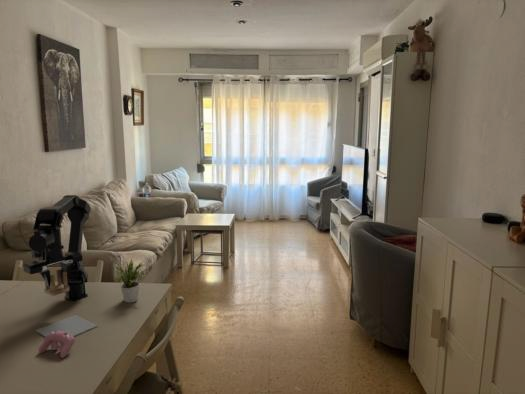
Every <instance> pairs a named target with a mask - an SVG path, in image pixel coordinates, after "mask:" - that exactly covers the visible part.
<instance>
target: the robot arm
mask: <svg viewBox="0 0 525 394" xmlns="http://www.w3.org/2000/svg"><path fill="white" fill-rule="evenodd" d="M91 210H92V209H91V206H90V204H89V203H88V202H87V200H84V199H82V198H80V197H79V195H76V194H68V195H67V194H66V195H64V196H63V197H62V198H61V199H60V200H58V201H57V202H56V203H54V204H53V205H51V206H45V207H42V208H39V210H38V211H37V213H36V216H35V221H34V223H33V224H34V225H33V228H32V230H33V235H32V236H30V237H29V241H28V246H29V248H30V249H31V258H32V259H33V260H34V259H37V260H38V261H41V262H38V261H36V260H34V261H30V262H25V263H24V265H23V266H22V268H23V272H24V273H27V274H29V275H34V274H40V275H41V277H42V279H43V280H44V283H45V282H46V284H47V286H48V287H51V281H50V276H51V270H49V269H48V267H51V266H55V265H57V264H59V266H60V271H61V282H62V285H64V284H63V273H62V272H67V283H68V287H69V291H67V292H64V293H65V295H64V298H66V299H67V300H70V301H72V302H75V301H77V300H79V299H82V298H83V299H84V298H86V297H88V295H89V294H88V293H86V292H87V291H86V283H88V280H89V275H88V272H87V271H86V270H85V266H84V264H83V261H84V256H83V254H82V245H83V234H84V225H85V223H86V222H87V221H88V219H89V216H90V213H91ZM66 213H67V218H68V219H69V221H70V229H69V230H70V231H69V236H68V237H69V239H68V248H67V249H68V250H67V252H66V253H65V254H63V253H64V252H63V249H64V248H65V247H64V244H63V243H62V242H63V241H62V234H61V228H62V227H63V225H62V223H63V220H64V215H65V214H66Z"/></svg>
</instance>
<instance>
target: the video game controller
mask: <svg viewBox="0 0 525 394" xmlns="http://www.w3.org/2000/svg"><path fill="white" fill-rule="evenodd" d="M75 340H76V339H75V337H74V336H72V335H70V334H69V333H67V332H64V331H53V332H50V333H49V334H48V335H47V336H46V337H45V338H44V339H43V341H42V342H41V344H40V346H39V347H38V353H39V354H43V353H44V352H45V351H46V350H47V349H48V348H51V350H52V351H56V350H59V352H60V358H62V359H64V358H65V357H67V356H68V354H69V353H70V352H71V350H72V347H73V345H74V344H75ZM59 342H61V343H59Z"/></svg>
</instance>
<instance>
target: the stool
mask: <svg viewBox="0 0 525 394" xmlns="http://www.w3.org/2000/svg"><path fill="white" fill-rule="evenodd" d="M62 273H63V284H64V285H62V282H61V268H58V269H56V280H55V275H54V274H52V275H51V274H50V281H51V285H50V287H48V286H47V284H46V282H45V281H44V287H45V288H44V289H43V290H44V293H46V294H47V295H48V296H51V297H55V296H58V295H61V294H64V293H65V292H67V291H69V287H68V283H67V272H62ZM56 281H57V284H56Z"/></svg>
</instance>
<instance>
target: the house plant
mask: <svg viewBox="0 0 525 394" xmlns="http://www.w3.org/2000/svg"><path fill="white" fill-rule="evenodd" d="M124 261H125V264H126V268H127V269H123V268H122V267H121V265H118V264H117V263H114V266H116V267H117V268H118V269H115V268H114V270H115V271H116V272H118V273H119V274H120V276H119V275H118V276H116V277H117V278H115V279H114V281H122V284H121V285H120V288H121V293H122V298H123V300H124V302H125V303H134V302H136V301H138V299H139V292H140V291H139V290H140V282H138V281H139V280H140V279H141V278H142V277H145V274H141V273H140V272H141V271H142V270H144V269H143V268H141V267H144V266H148V265H149V264H147V263H146V264H145V263H144V262H145V260H143V261H141V262H140V263H138V265H136V266H134V263H133V259H132V258H131V259H130V261H129V264H128V262H127V261H126V260H124ZM140 268H141V269H140ZM136 279H137V281H136Z"/></svg>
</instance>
